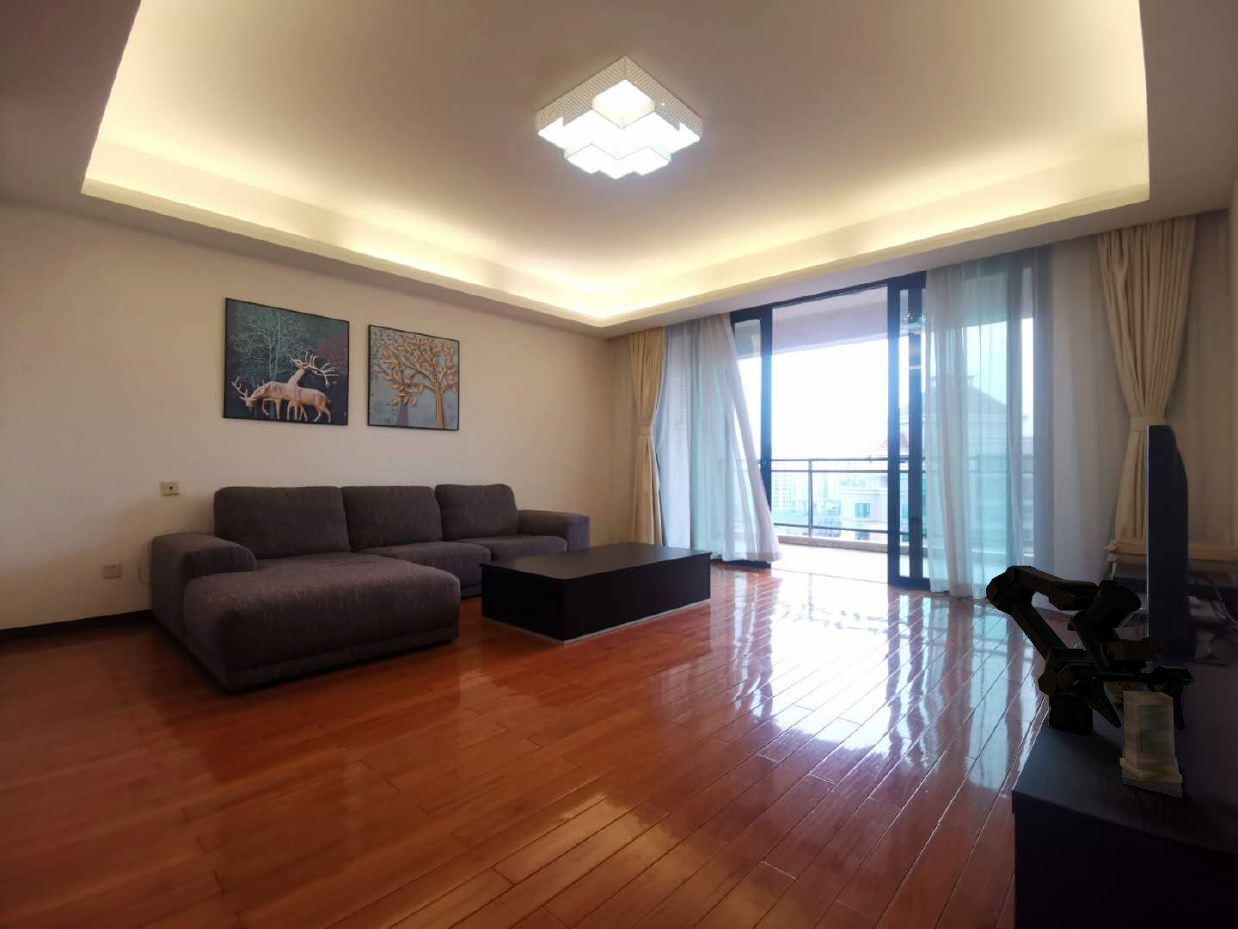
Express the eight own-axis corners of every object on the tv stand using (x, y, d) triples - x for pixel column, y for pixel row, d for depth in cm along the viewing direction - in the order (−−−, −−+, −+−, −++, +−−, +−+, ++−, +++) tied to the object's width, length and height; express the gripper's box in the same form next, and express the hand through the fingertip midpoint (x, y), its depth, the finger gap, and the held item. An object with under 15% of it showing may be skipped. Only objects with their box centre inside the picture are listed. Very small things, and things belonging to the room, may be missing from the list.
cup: (1124, 696, 128) (1123, 661, 128) (1156, 710, 121) (1155, 672, 121) (1092, 697, 128) (1091, 661, 128) (1123, 711, 121) (1121, 673, 121)
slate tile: (1122, 783, 92) (1121, 776, 92) (1122, 752, 103) (1122, 745, 103) (1182, 800, 88) (1182, 792, 88) (1176, 765, 98) (1176, 758, 98)
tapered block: (1143, 781, 91) (1140, 699, 91) (1120, 765, 96) (1117, 688, 96) (1182, 783, 90) (1179, 701, 91) (1157, 767, 95) (1154, 689, 95)
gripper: (1064, 617, 100) (1111, 705, 89) (1184, 619, 97) (1248, 711, 86) (1039, 648, 107) (1079, 733, 96) (1149, 651, 105) (1203, 739, 94)
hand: (1150, 729), depth 93 cm, fingers open, 9 cm apart
